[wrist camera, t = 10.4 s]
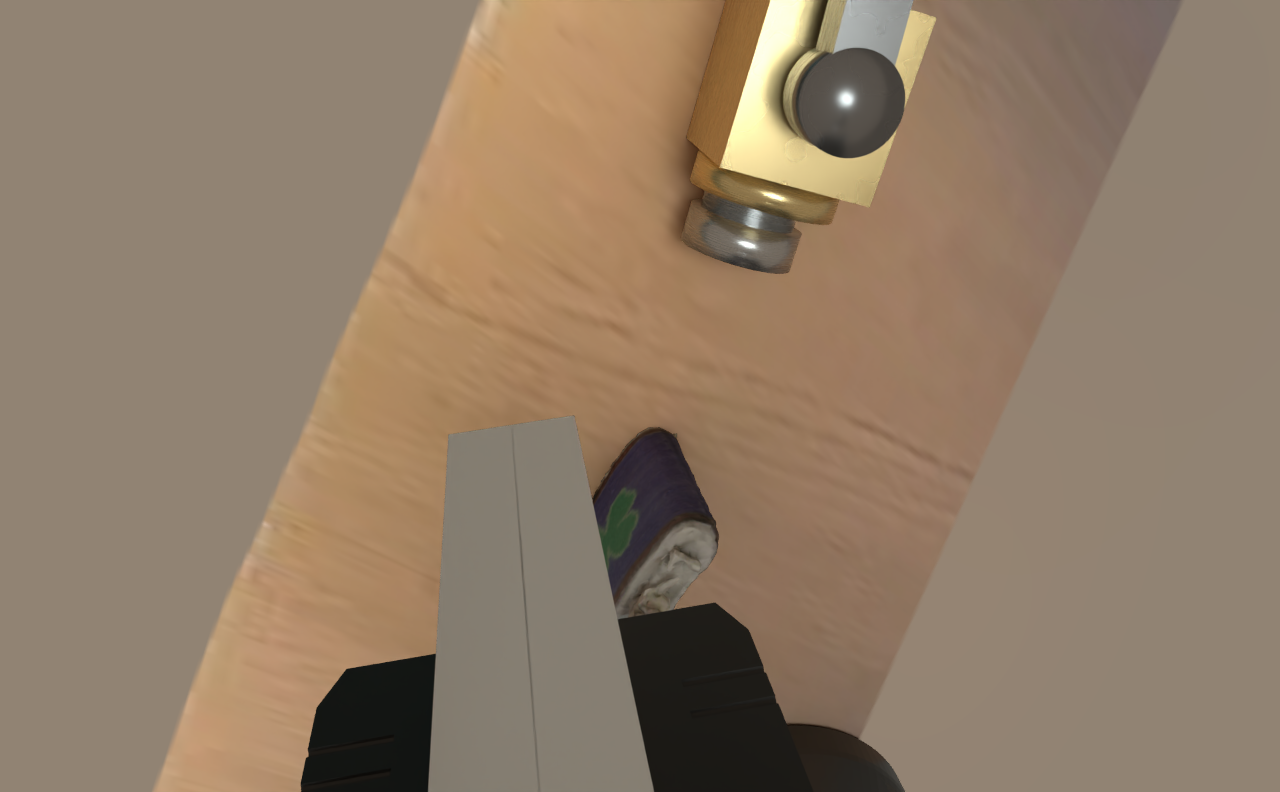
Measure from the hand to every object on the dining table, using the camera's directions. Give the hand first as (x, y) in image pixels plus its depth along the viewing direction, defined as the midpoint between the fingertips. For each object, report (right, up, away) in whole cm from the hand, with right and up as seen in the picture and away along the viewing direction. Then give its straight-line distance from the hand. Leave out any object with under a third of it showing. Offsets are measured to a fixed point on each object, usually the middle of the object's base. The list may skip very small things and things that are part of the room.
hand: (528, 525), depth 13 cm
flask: (0, -4, +39) cm, 40 cm away
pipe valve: (+7, +15, +32) cm, 36 cm away
